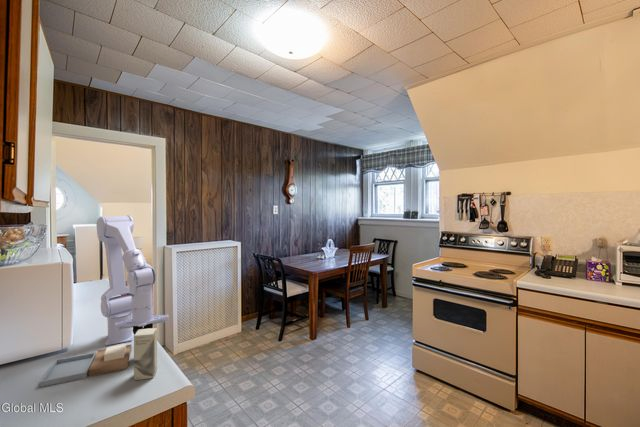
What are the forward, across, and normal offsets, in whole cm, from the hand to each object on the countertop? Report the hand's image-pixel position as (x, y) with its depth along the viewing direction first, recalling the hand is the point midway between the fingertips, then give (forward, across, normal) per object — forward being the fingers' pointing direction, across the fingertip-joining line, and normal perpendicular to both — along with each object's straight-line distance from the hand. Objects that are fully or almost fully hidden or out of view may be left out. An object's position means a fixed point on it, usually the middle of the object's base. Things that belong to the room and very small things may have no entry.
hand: (143, 347), depth 95 cm
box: (+3, +2, -12) cm, 12 cm away
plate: (+3, -8, 0) cm, 9 cm away
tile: (+1, -8, 0) cm, 8 cm away
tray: (+3, -18, 0) cm, 19 cm away
